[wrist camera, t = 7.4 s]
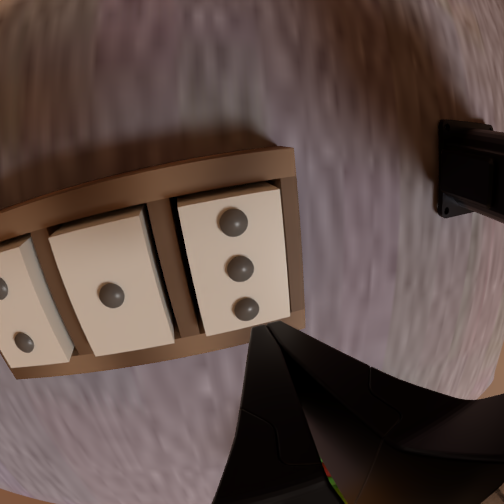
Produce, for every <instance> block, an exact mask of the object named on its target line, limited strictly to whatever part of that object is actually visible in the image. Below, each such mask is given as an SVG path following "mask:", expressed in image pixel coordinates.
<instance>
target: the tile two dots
mask: <svg viewBox="0 0 504 504" xmlns="http://www.w3.org/2000/svg"><path fill="white" fill-rule="evenodd" d="M74 346H75V345H74V343H73V341H72V339H71V337H70V335H69V333H68V331H67V328H66V326H65V324H64V322H63V320H62V317H61V315H60V313H59V311H58V308H57V306H56V304H55V301H54V299H53V296H52V294H51V291H50V289H49V286H48V284H47V281H46V279H45V276H44V273H43V270H42V268H41V265H40V262H39V259H38V256H37V253H36V250H35V247H34V244H33V241H32V237H31V234H30V233H29V234H26V235H23V236H19V237H16V238H13V239H10V240H6V241H3V242H0V350H1V352H2V354H3V355H4V357H5V359H6V360H7V362H8V364H9V365H10V367H11V368H17V367H29V366H39V365H49V364H57V363H66V362H69V361H70V358H71V355H72V352H73V349H74Z"/></svg>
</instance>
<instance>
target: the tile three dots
mask: <svg viewBox="0 0 504 504" xmlns="http://www.w3.org/2000/svg"><path fill="white" fill-rule="evenodd" d="M177 205H178V212H179V217H180V222H181V227H182V232H183V237H184V242H185V247H186V252H187V256H188V261H189V265H190V270H191V274H192V279H193V283H194V288H195V292H196V296H197V300H198V305H199V309H200V313H201V317H202V321H203V325H204V329H205V333H206V336H211V335H216V334H220V333H225V332H229V331H233V330H238V329H242V328H246V327H250V326H254V325H258V324H263V323H267V322H271V321H274V320H278V319H282V318H286V317H290V304H289V290H288V277H287V264H286V252H285V240H284V229H283V218H282V207H281V197H280V189H279V188H277V187H275V186H273V185H271V184H269V183H267V182H265V181H260V182H254V183H248V184H242V185H236V186H230V187H224V188H219V189H213V190H208V191H202V192H197V193H192V194H187V195H182V196H177Z"/></svg>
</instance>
